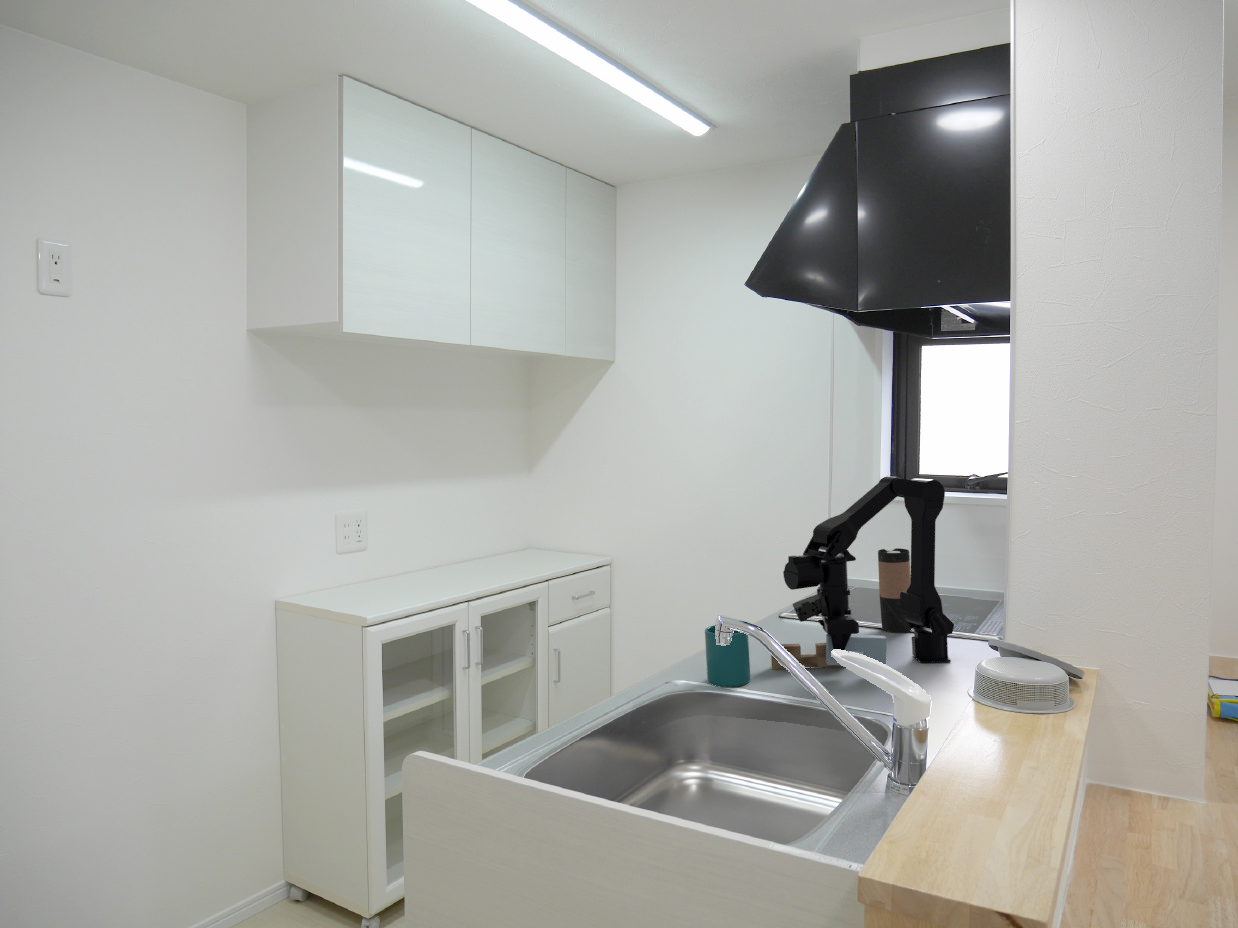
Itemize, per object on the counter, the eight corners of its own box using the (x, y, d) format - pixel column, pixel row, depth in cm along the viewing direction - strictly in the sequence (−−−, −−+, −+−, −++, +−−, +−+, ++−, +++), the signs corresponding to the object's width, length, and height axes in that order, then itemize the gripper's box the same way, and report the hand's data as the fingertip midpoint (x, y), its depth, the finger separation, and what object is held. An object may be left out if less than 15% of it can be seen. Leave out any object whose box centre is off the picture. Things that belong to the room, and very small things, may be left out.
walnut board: (845, 664, 180) (844, 641, 180) (847, 667, 178) (845, 644, 178) (771, 666, 182) (770, 644, 181) (772, 669, 180) (771, 646, 179)
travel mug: (902, 634, 201) (899, 554, 200) (875, 630, 207) (871, 551, 206) (918, 628, 206) (915, 549, 205) (891, 624, 212) (887, 547, 211)
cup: (765, 674, 176) (762, 623, 176) (736, 691, 167) (733, 636, 167) (729, 669, 182) (726, 619, 182) (699, 684, 173) (696, 631, 172)
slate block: (883, 663, 173) (884, 635, 172) (886, 666, 171) (886, 638, 170) (825, 661, 174) (826, 633, 173) (827, 664, 172) (827, 636, 171)
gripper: (789, 576, 182) (792, 646, 182) (800, 594, 163) (804, 672, 164) (840, 574, 181) (843, 644, 181) (857, 592, 162) (861, 670, 163)
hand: (837, 657), depth 172 cm, fingers closed on slate block, 2 cm apart
